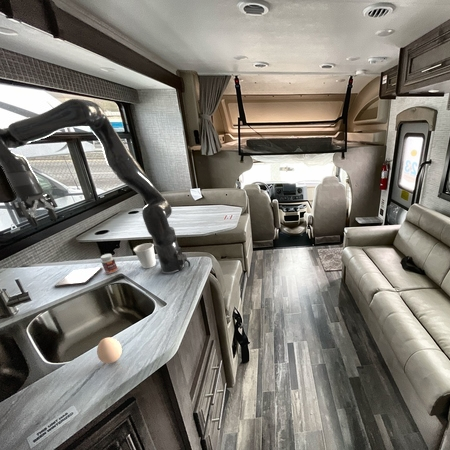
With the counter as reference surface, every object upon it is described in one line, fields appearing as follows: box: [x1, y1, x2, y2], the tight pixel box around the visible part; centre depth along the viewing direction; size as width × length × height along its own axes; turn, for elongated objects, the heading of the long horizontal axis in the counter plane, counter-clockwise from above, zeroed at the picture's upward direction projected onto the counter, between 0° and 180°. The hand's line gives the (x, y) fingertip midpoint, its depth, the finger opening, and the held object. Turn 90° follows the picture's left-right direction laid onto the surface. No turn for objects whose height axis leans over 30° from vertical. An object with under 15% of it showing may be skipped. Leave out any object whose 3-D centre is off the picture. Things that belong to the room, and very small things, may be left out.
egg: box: [96, 337, 123, 364], centre depth 68 cm, size 5×5×8 cm
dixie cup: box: [133, 242, 157, 269], centre depth 117 cm, size 8×8×10 cm
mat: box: [53, 267, 103, 288], centre depth 110 cm, size 12×12×1 cm
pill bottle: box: [100, 253, 118, 275], centre depth 113 cm, size 5×5×8 cm
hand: (45, 222), depth 99 cm, fingers open, 8 cm apart
